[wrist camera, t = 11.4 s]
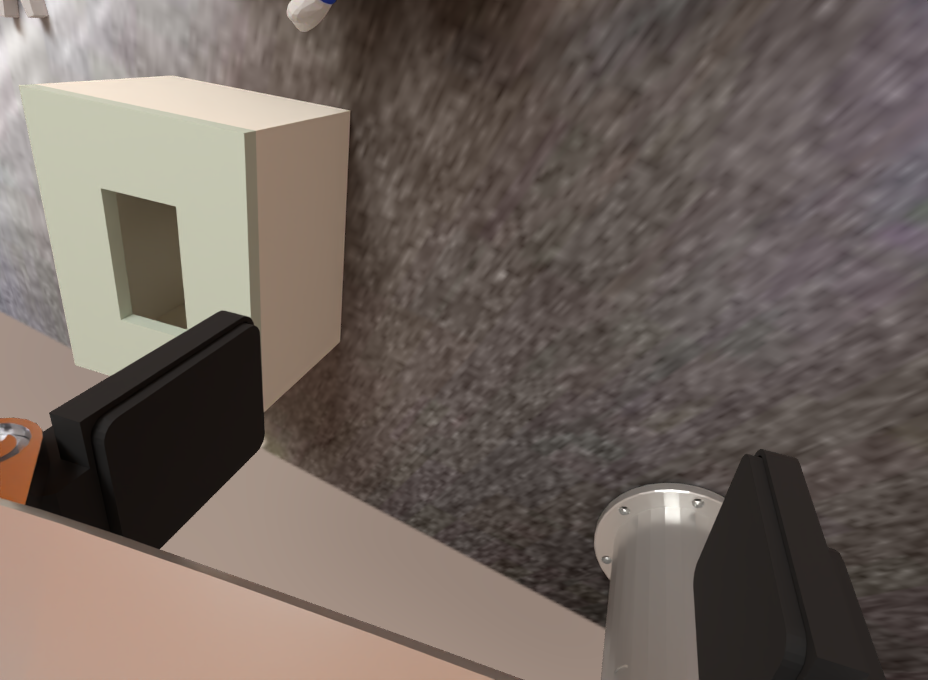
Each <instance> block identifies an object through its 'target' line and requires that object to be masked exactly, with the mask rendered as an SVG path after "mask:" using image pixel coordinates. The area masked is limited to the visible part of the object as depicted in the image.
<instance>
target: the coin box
mask: <svg viewBox="0 0 928 680" xmlns="http://www.w3.org/2000/svg"><path fill="white" fill-rule="evenodd" d="M19 89H20V94H21V99H22V104H23V109H24V114H25V119H26V124H27V129H28V134H29V139H30V143H31V148H32V153H33V158H34V163H35V168H36V173H37V178H38V183H39V188H40V193H41V198H42V203H43V208H44V213H45V218H46V223H47V228H48V233H49V238H50V243H51V248H52V253H53V258H54V262H55V267H56V272H57V277H58V282H59V287H60V292H61V297H62V302H63V307H64V312H65V317H66V322H67V327H68V332H69V337H70V342H71V347H72V352H73V356H74V361H75V365H77V366H80V367H83V368H87V369H90V370H93V371H96V372H99V373H103V374H106V375H109V376H111V375H113V374H115V373H117V372H118V371H120V370H122V369H123V368H125V367H127V366H128V365H130V364H132V363H133V362H135V361H137V360H138V359H140V358H142V357H143V356H145V355H147V354H148V353H150V352H152V351H153V350H155V349H157V348H158V347H160V346H162V345H163V344H165V343H167V342H168V341H170V340H172V339H173V338H175V337H177V336H178V335H180V334H182V333H183V332H185V331H187V330H188V329H190V328H192V327H193V326H195V325H197V324H198V323H200V322H202V321H204V320H205V319H207V318H209V317H210V316H212V315H214V314H215V313H217V312H219V311H222V310H223V311H228V312H232V313H236V314H240V315H244V316H248V317H250V318H251V319H252V320H253V322H254V326H257V327H258V329H259V331H260V343H261V365H262V386H263V408H264V412H265V411H266V410H267V409H268V408H269V407H270V406H272V405H273V404H274V403H275V402H276V401H277V400H278V399H279V398H280V397H281V396H282V395H283V394H284V393H286V392H287V391H288V390H289V389H290V388H291V387H292V386H293V385H294V384H295V383H296V382H297V381H298V380H300V379H301V378H302V377H303V376H304V375H305V374H306V373H307V372H308V371H309V370H310V369H311V368H313V367H314V366H315V365H316V364H317V363H318V362H319V361H320V360H321V359H322V358H323V357H324V356H325V355H327V354H328V353H329V352H330V351H331V350H332V349H333V348H334V347H335V346H336V345H337V344H338V343H339V342H340V334H341V311H342V289H343V267H344V244H345V222H346V200H347V177H348V155H349V133H350V110H345V109H340V108H335V107H330V106H324V105H319V104H314V103H309V102H304V101H299V100H294V99H289V98H284V97H279V96H274V95H269V94H264V93H258V92H253V91H248V90H243V89H238V88H233V87H228V86H223V85H218V84H213V83H208V82H203V81H198V80H192V79H187V78H182V77H177V76H159V77H143V78H127V79H111V80H95V81H79V82H63V83H47V84H31V85H19Z"/></svg>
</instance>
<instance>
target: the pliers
mask: <svg viewBox="0 0 928 680" xmlns="http://www.w3.org/2000/svg"><path fill="white" fill-rule="evenodd" d="M20 1H21V3H22V5H23V7H24V10H25V12H26V14H27V16H28V17H30V18H45V17H47V16H49V15H48V11H47V8H46V4H45V1H44V0H20ZM0 15H1V16H3V17H16V18H19V11H18V0H0Z"/></svg>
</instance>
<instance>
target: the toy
mask: <svg viewBox="0 0 928 680" xmlns="http://www.w3.org/2000/svg"><path fill="white" fill-rule="evenodd" d="M335 2H336V0H291V2H290V3H289V5H288V8H287V16H288V18H289V19H290V20H291V21H292V22H293V23H294V25H295V26H296V27H297V29H299V30H300V31H301V32H307V31H309V30H310V29H312V28H314V27H315V26H316V25H318V24H319V23H320V22H321V21H322V19H323V18H324V17H325V16H326V14H327V13H328V11H329V9H330V7H331V6H332V4H333V3H335Z"/></svg>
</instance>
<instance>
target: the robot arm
mask: <svg viewBox="0 0 928 680" xmlns="http://www.w3.org/2000/svg"><path fill="white" fill-rule="evenodd" d="M49 414H50V418H51V422H52V427H50V428H49V429H47V430H46V431H44V432H43V431H42V429H41V428H40V427H39V425H38V424H37V423H34V422H32V421H30V420H27V419H21V418H14V417H13V418H0V680H523V679H520V678H517V677H515V676H512V675H509V674H506V673H504V672H501V671H498V670H495V669H492V668H490V667H487V666H484V665H482V664H479V663H476V662H473V661H471V660H468V659H465V658H462V657H460V656H456V655H454V654H451V653H449V652H446V651H443V650H440V649H437V648H434V647H432V646H429V645H427V644H424V643H421V642H418V641H416V640H413V639H410V638H407V637H404V636H402V635H399V634H396V633H393V632H391V631H388V630H385V629H382V628H379V627H376V626H374V625H371V624H368V623H365V622H363V621H360V620H357V619H354V618H352V617H349V616H346V615H343V614H340V613H338V612H335V611H332V610H329V609H326V608H324V607H321V606H318V605H315V604H312V603H310V602H307V601H304V600H301V599H298V598H296V597H293V596H290V595H287V594H284V593H282V592H279V591H276V590H273V589H270V588H268V587H265V586H262V585H259V584H256V583H254V582H250V581H248V580H245V579H242V578H239V577H237V576H234V575H231V574H228V573H225V572H222V571H219V570H217V569H214V568H211V567H208V566H205V565H202V564H200V563H197V562H194V561H191V560H188V559H185V558H182V557H180V556H177V555H174V554H171V553H168V552H165V551H162V550H160V548H161V547H162V546H163V545H164V544H165V543H166V542H167V541H168V540H169V539H170V538H171V537H172V536H173V535H174V534H175V533H176V532H177V531H178V530H179V529H180V528H181V527H182V526H183V525H184V524H185V523H186V522H187V521H188V520H189V519H190V518H191V517H192V516H193V515H194V514H195V513H196V512H197V511H198V510H199V509H200V508H201V507H202V506H203V505H204V504H205V503H206V502H207V501H208V500H209V499H210V498H211V497H212V496H213V495H214V494H215V493H216V492H217V491H218V490H219V489H220V488H221V487H222V486H223V485H224V484H225V483H226V482H227V481H228V480H229V479H230V478H231V477H232V476H233V475H234V474H235V473H236V472H237V471H238V470H239V469H240V468H241V467H242V466H243V465H244V464H245V463H246V462H247V461H248V460H249V459H250V458H251V457H252V456H253V455H254V454H255V453H256V452H257V451H258V450H259V449H260V447H261V445H262V443H263V440H264V434H265V430H264V408H263V386H262V365H261V343H260V331H259V329H258V327H257V326H254V322H253V320H252V319H251V318H250V317H248V316H244V315H240V314H236V313H232V312H228V311H223V310H222V311H219V312H217V313H215V314H214V315H212V316H210V317H209V318H207V319H205V320H204V321H202V322H200V323H198V324H197V325H195V326H193V327H192V328H190V329H188V330H187V331H185V332H183V333H182V334H180V335H178V336H177V337H175V338H173V339H172V340H170V341H168V342H167V343H165V344H163V345H162V346H160V347H158V348H157V349H155V350H153V351H152V352H150V353H148V354H147V355H145V356H143V357H142V358H140V359H138V360H137V361H135V362H133V363H132V364H130V365H128V366H127V367H125V368H123V369H122V370H120V371H118V372H117V373H115V374H113V375H111V376H110V377H108V378H106V379H105V380H103V381H101V382H100V383H98V384H97V385H95V386H93V387H92V388H90V389H88V390H86V391H85V392H83V393H81V394H80V395H78V396H76V397H75V398H73V399H71V400H70V401H68V402H66V403H65V404H63V405H61V406H60V407H58V408H57V409H55V410H53V411H51V412H50V413H49ZM594 548H595V553H596V558H597V560H598V562H599V565H600V567H601V569H602V570H603V572H604V573H605V574H606V576H607V577H608V579H609V580H610V587H609V598H608V609H607V619H606V630H605V642H604V651H603V662H602V673H601V680H886V678H885V676H884V673H883V670H882V667H881V664H880V662H879V659H878V656H877V653H876V650H875V647H874V645H873V642H872V639H871V636H870V633H869V631H868V628H867V625H866V622H865V619H864V617H863V614H862V611H861V608H860V605H859V603H858V600H857V597H856V594H855V591H854V589H853V586H852V583H851V580H850V577H849V574H848V572H847V569H846V566H845V563H844V561H843V559H842V557H841V555H840V553H839V552H837V551H836V550H835V549H832V548H828V547H827V544H826V541H825V538H824V535H823V532H822V529H821V526H820V523H819V520H818V517H817V514H816V511H815V508H814V505H813V502H812V499H811V496H810V493H809V490H808V487H807V484H806V481H805V478H804V475H803V472H802V469H801V466H800V463H799V461H798V459H796V458H794V457H790V456H786V455H782V454H779V453H775V452H771V451H767V450H763V449H760V450H758V451H757V453H756V454H755V456H753V455H749V454H745V455H744V456H743V457H742V459H741V461H740V464H739V466H738V468H737V471H736V473H735V475H734V478H733V480H732V482H731V485H730V487H729V489H728V492H727V494H726V496H725V498H724V497H722V496H720V495H718V494H716V493H714V492H712V491H709V490H706V489H703V488H700V487H697V486H692V485H686V484H680V483H658V484H650V485H645V486H641V487H638V488H634V489H632V490H630V491H628V492H625V493H623V494H621V495H620V496H618V497H617V498H616V499H614V500H613V501H612V502H610V503H609V505H608V506H607V507H606V508H605V509H604V511H603V512H602V513H601V515H600V518H599V520H598V522H597V526H596V531H595V539H594Z"/></svg>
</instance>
